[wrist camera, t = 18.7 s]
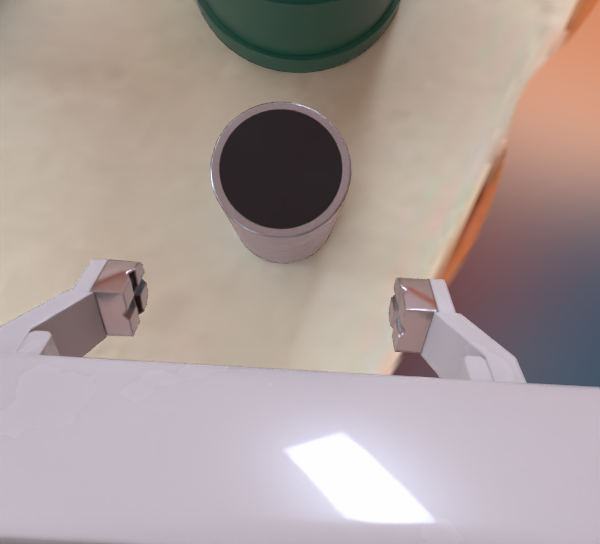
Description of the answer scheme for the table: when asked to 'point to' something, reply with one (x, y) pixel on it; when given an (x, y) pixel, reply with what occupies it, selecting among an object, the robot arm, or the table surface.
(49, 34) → the table surface
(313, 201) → the steel cup
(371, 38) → the bucket
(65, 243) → the table surface
